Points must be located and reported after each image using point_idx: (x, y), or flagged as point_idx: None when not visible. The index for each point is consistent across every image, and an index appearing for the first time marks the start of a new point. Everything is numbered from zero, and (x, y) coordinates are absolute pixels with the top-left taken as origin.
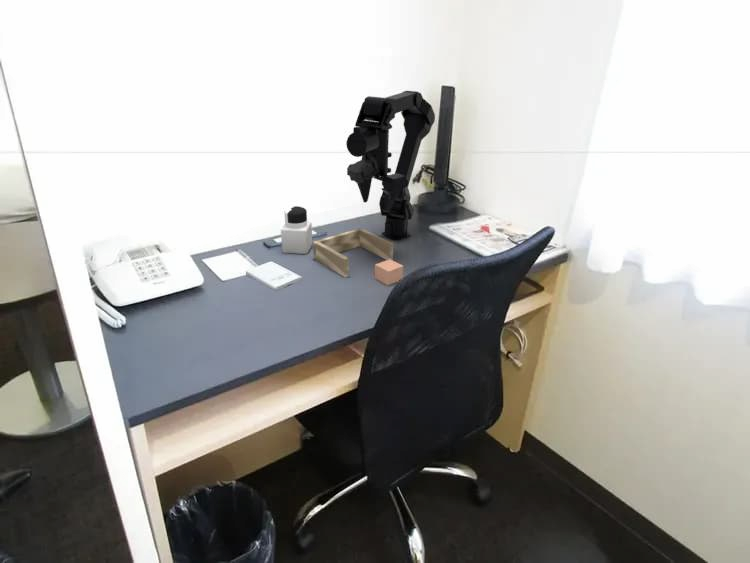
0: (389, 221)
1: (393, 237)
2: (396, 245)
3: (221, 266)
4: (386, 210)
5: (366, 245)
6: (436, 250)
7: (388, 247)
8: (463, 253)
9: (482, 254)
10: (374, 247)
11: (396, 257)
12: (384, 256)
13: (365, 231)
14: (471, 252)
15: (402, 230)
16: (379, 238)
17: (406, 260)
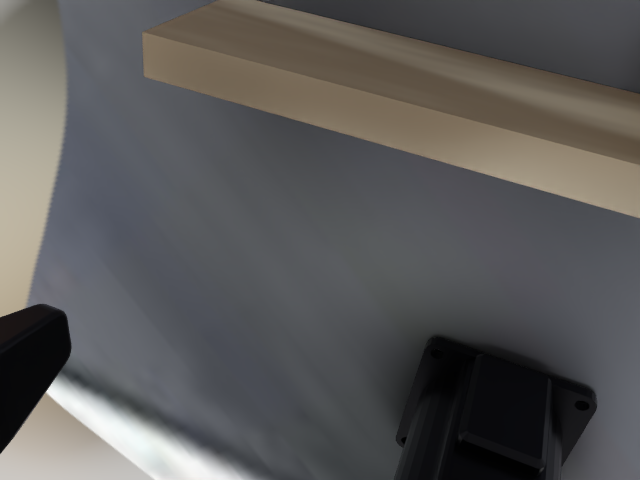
0: (491, 471)
1: (460, 360)
2: (380, 272)
3: None
4: (34, 310)
5: (536, 82)
6: (163, 316)
7: (185, 27)
8: None
9: None
10: (407, 58)
11: None
12: (282, 13)
13: (571, 172)
14: None
15: (409, 431)
16: (312, 93)
17: (169, 94)
